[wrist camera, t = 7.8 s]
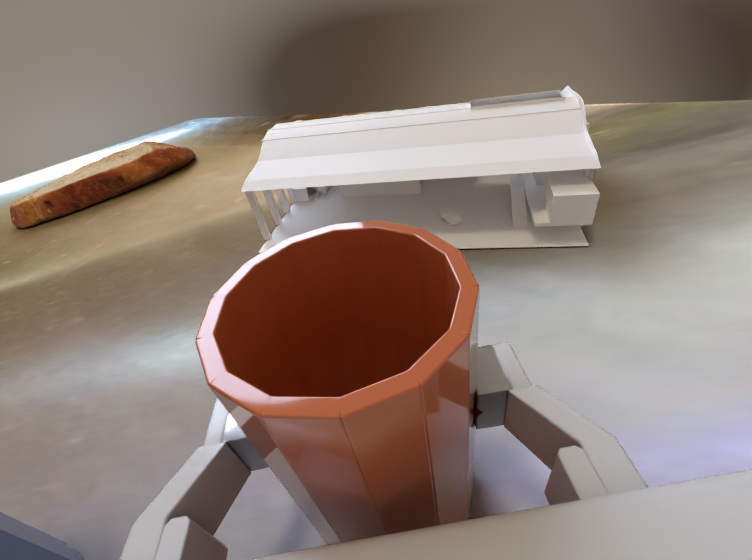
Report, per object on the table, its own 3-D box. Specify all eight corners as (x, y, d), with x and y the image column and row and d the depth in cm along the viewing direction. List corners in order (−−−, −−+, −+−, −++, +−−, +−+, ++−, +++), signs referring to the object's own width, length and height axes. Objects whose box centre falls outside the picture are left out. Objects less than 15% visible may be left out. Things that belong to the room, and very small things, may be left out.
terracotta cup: (430, 628, 11) (382, 494, 5) (284, 514, 14) (138, 342, 8) (495, 451, 15) (517, 244, 8) (368, 392, 18) (316, 208, 11)
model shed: (249, 254, 29) (212, 171, 25) (307, 176, 40) (288, 109, 36) (595, 246, 23) (624, 137, 19) (552, 158, 34) (565, 76, 30)
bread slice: (-1, 232, 41) (-29, 202, 39) (92, 170, 55) (76, 146, 53) (149, 209, 40) (130, 176, 37) (205, 151, 54) (193, 125, 51)
